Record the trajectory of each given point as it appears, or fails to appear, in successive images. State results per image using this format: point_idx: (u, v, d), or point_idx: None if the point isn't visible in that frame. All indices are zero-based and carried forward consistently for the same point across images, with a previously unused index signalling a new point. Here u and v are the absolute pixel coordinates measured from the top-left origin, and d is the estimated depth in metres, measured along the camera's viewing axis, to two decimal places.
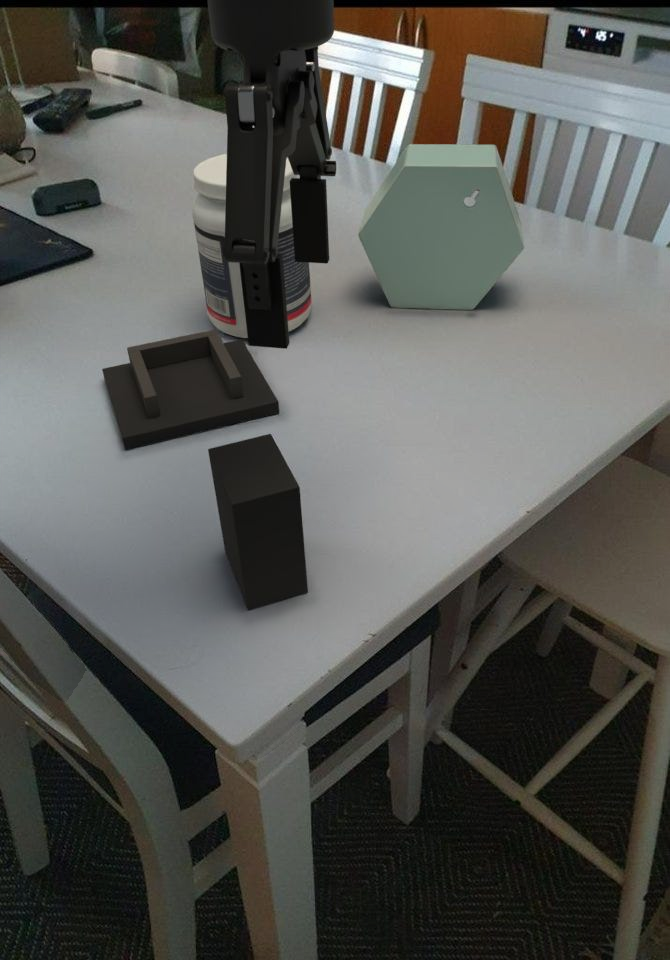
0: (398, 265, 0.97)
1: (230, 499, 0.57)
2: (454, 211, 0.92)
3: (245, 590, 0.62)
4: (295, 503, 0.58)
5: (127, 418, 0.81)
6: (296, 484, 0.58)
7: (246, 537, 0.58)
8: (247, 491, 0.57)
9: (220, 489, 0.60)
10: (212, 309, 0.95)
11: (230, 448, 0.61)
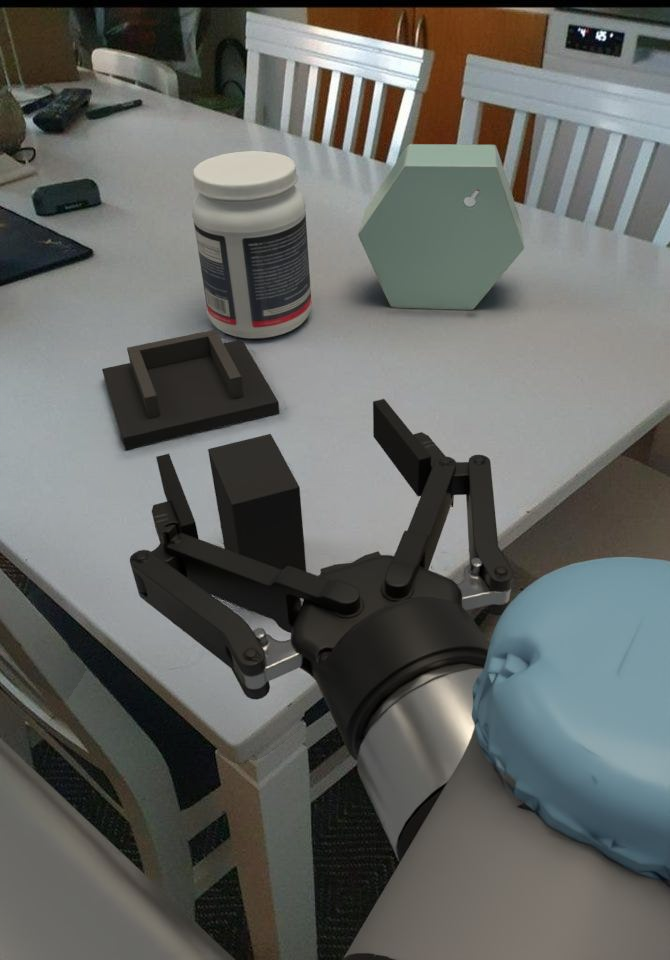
0: (398, 265, 0.97)
1: (230, 499, 0.57)
2: (454, 211, 0.92)
3: None
4: (295, 503, 0.58)
5: (127, 418, 0.81)
6: (296, 484, 0.58)
7: (246, 537, 0.58)
8: (247, 491, 0.57)
9: (220, 489, 0.60)
10: (211, 309, 0.95)
11: (230, 448, 0.61)
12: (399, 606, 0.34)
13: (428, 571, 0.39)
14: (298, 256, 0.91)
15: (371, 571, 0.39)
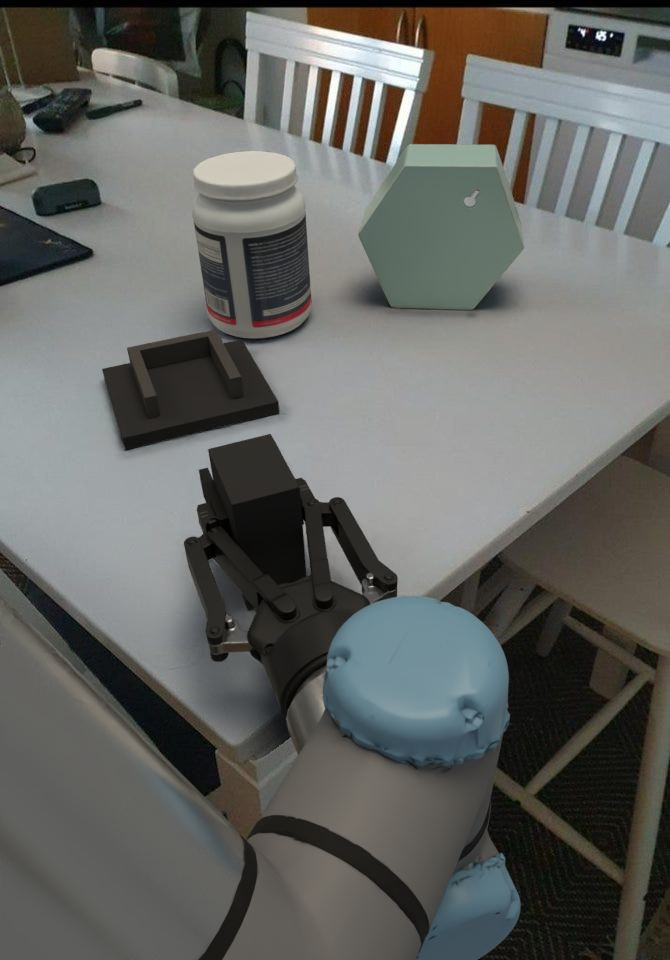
0: (398, 265, 0.97)
1: (230, 499, 0.57)
2: (454, 211, 0.92)
3: None
4: (295, 503, 0.58)
5: (127, 418, 0.81)
6: (296, 484, 0.58)
7: (246, 537, 0.58)
8: (247, 491, 0.57)
9: (220, 489, 0.60)
10: (211, 309, 0.95)
11: (230, 448, 0.61)
12: (319, 615, 0.49)
13: (348, 589, 0.54)
14: (298, 256, 0.91)
15: (307, 589, 0.54)
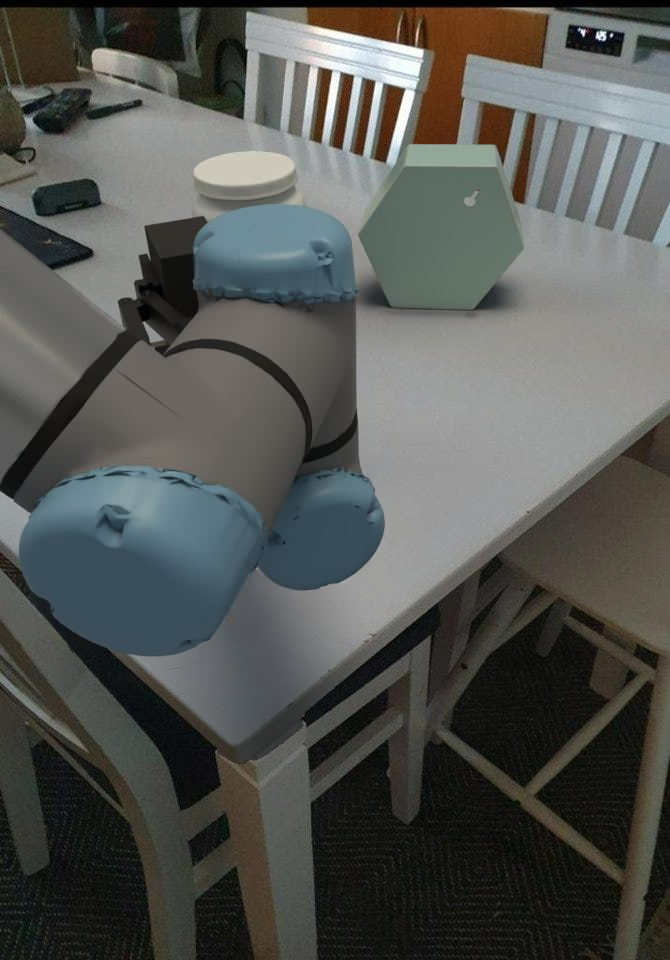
0: (398, 265, 0.97)
1: (159, 255, 0.61)
2: (454, 211, 0.92)
3: None
4: None
5: None
6: None
7: (175, 297, 0.63)
8: (175, 250, 0.62)
9: (154, 259, 0.65)
10: None
11: (164, 224, 0.66)
12: None
13: None
14: None
15: None
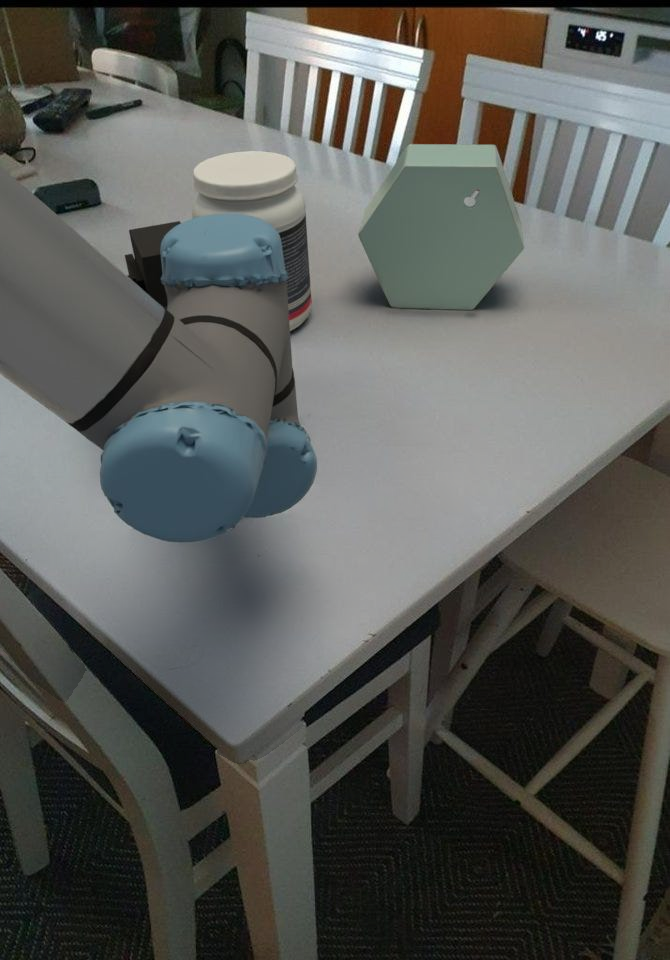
0: (398, 265, 0.97)
1: (141, 254, 0.73)
2: (454, 211, 0.92)
3: None
4: None
5: None
6: None
7: (155, 290, 0.75)
8: (154, 250, 0.74)
9: (137, 258, 0.77)
10: None
11: (146, 229, 0.78)
12: None
13: None
14: (298, 256, 0.91)
15: None
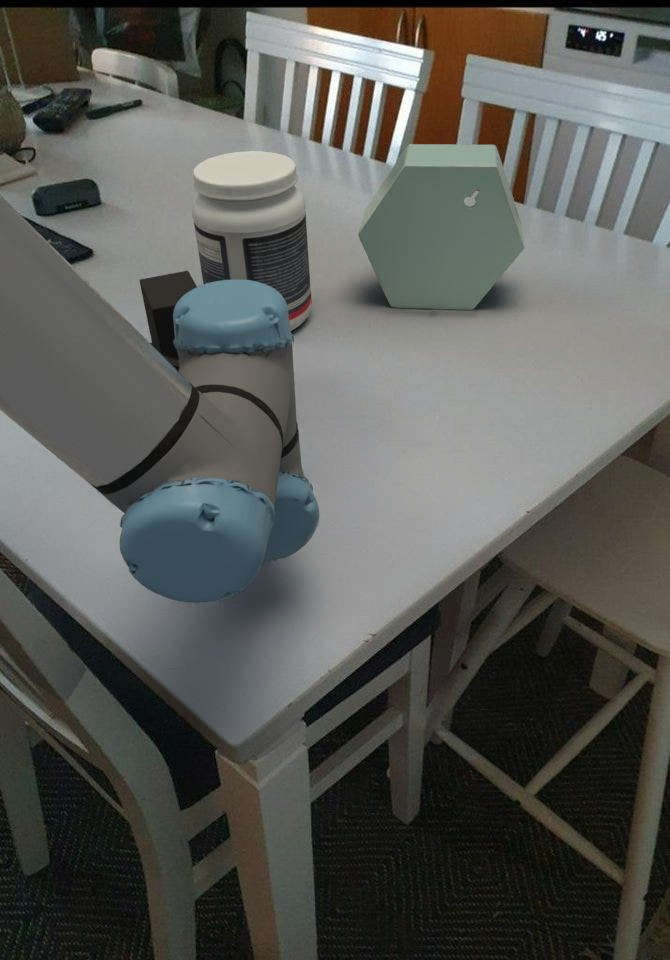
0: (398, 265, 0.97)
1: (151, 306, 0.76)
2: (455, 211, 0.92)
3: None
4: None
5: None
6: None
7: (165, 339, 0.78)
8: (165, 302, 0.77)
9: (147, 307, 0.80)
10: None
11: (156, 278, 0.81)
12: None
13: None
14: (298, 256, 0.91)
15: None
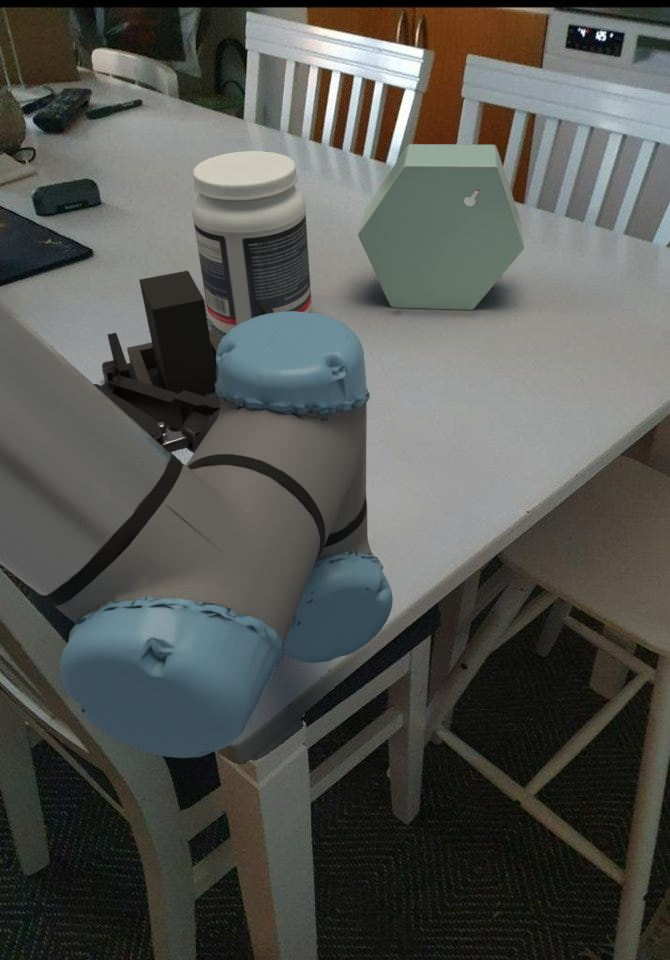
0: (398, 265, 0.97)
1: (151, 306, 0.76)
2: (454, 211, 0.92)
3: (168, 387, 0.81)
4: (201, 313, 0.78)
5: None
6: (202, 298, 0.77)
7: (165, 339, 0.78)
8: (165, 302, 0.77)
9: (147, 307, 0.80)
10: (211, 309, 0.95)
11: (156, 278, 0.81)
12: None
13: None
14: (298, 256, 0.91)
15: None
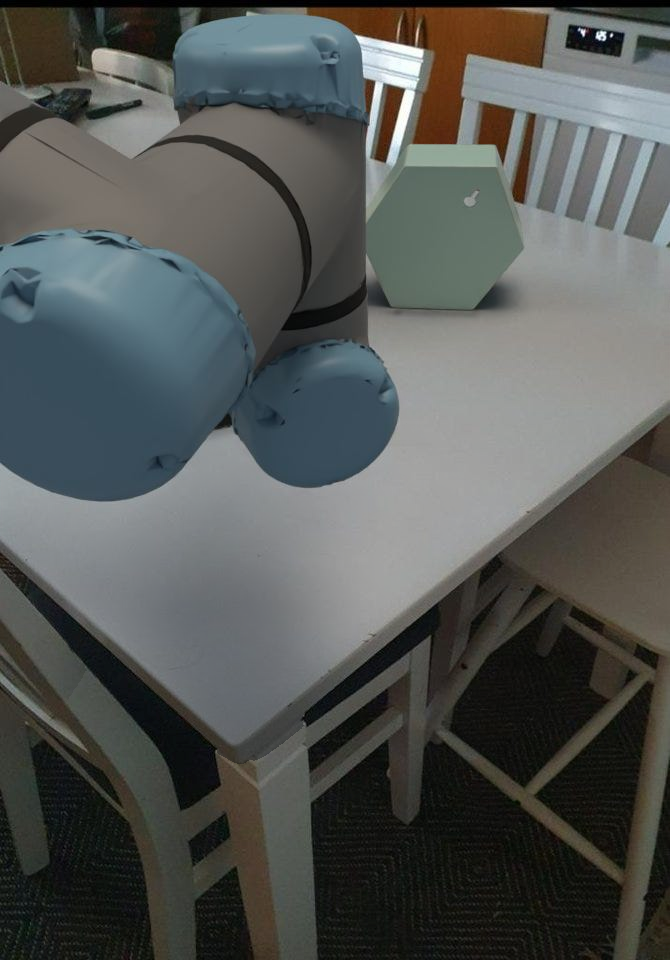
0: (398, 265, 0.97)
1: None
2: (454, 211, 0.92)
3: None
4: None
5: None
6: None
7: None
8: None
9: None
10: None
11: None
12: None
13: None
14: None
15: None
